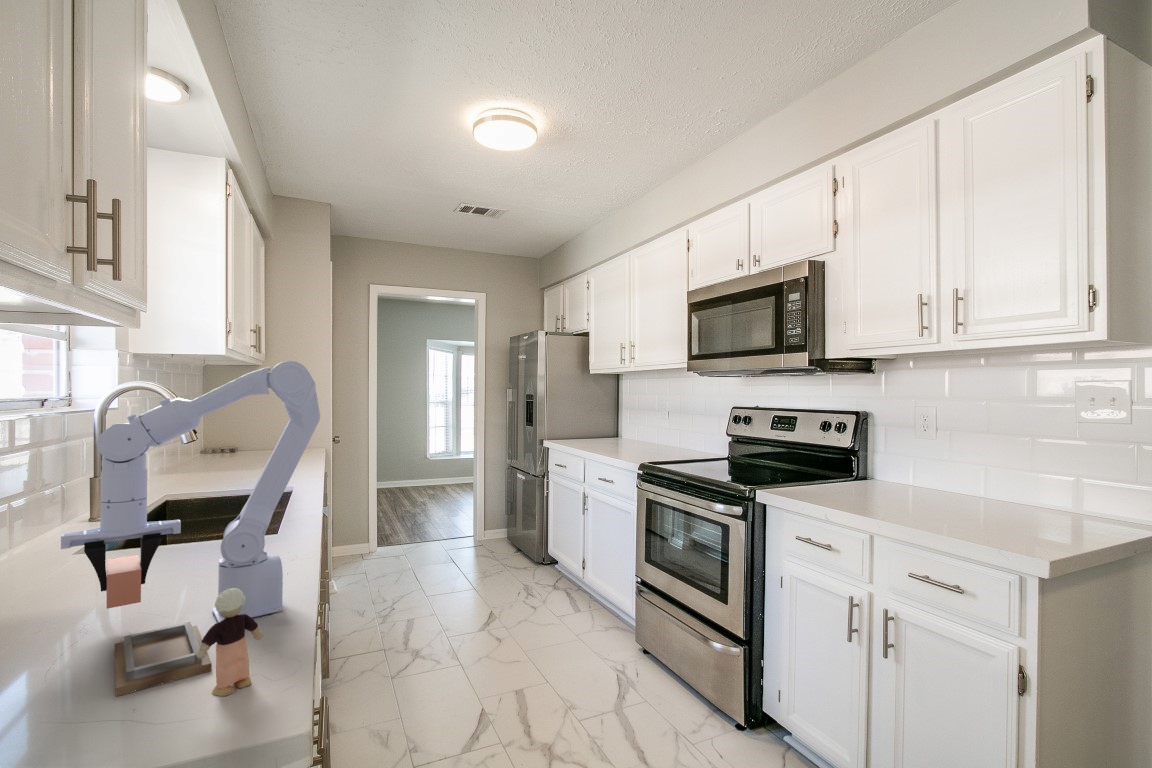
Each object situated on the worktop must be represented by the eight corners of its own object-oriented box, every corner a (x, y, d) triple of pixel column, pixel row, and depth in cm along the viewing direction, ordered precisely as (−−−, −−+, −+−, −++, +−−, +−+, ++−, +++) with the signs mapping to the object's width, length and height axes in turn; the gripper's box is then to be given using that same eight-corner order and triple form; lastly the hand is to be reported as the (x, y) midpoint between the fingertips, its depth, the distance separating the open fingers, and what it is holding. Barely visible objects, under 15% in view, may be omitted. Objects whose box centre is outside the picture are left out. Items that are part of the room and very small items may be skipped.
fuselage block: (137, 584, 92) (138, 554, 92) (140, 602, 85) (141, 569, 85) (106, 590, 90) (106, 559, 90) (106, 608, 82) (107, 574, 82)
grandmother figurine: (245, 672, 75) (246, 578, 75) (266, 677, 74) (267, 581, 74) (188, 701, 68) (189, 597, 68) (209, 708, 66) (210, 602, 67)
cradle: (196, 631, 88) (196, 617, 88) (211, 670, 75) (211, 654, 75) (114, 650, 81) (114, 635, 81) (116, 696, 69) (116, 678, 69)
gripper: (178, 490, 95) (177, 570, 95) (63, 501, 86) (62, 589, 86) (182, 496, 90) (181, 580, 90) (60, 508, 80) (59, 602, 80)
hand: (123, 585), depth 87 cm, fingers closed on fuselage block, 4 cm apart
